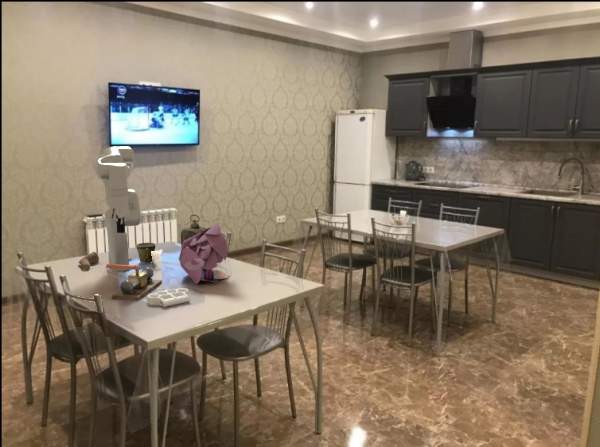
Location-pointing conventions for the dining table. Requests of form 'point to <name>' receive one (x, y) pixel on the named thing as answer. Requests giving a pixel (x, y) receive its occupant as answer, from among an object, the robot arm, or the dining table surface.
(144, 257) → the ceramic cup
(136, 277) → the water pipe
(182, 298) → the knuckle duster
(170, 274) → the dining table surface
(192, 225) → the tabletop clock
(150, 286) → the valve board
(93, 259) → the pipe
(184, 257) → the flower arrangement
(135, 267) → the lever
